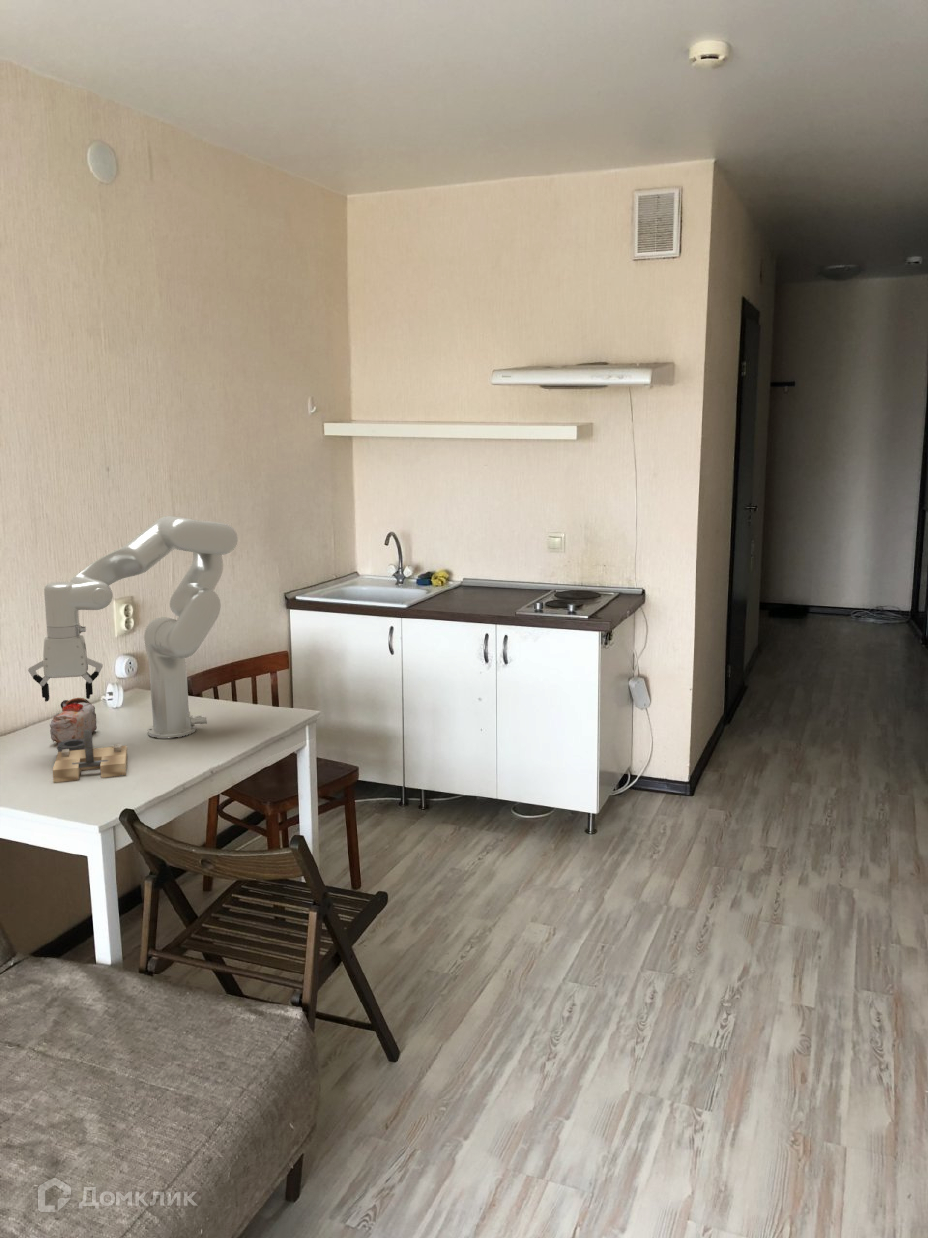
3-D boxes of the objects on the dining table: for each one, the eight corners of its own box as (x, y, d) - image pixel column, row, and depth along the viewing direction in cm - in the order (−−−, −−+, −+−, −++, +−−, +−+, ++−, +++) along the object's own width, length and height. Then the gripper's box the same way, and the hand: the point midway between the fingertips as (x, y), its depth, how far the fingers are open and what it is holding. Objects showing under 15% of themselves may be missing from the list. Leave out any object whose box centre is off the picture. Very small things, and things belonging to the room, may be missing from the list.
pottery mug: (106, 721, 281) (99, 701, 275) (82, 743, 275) (75, 723, 269) (75, 706, 285) (68, 686, 280) (50, 727, 279) (42, 707, 273)
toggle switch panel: (127, 756, 249) (124, 714, 247) (125, 775, 236) (122, 731, 233) (59, 763, 244) (55, 720, 242) (53, 782, 231) (49, 737, 229)
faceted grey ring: (90, 748, 255) (89, 737, 255) (88, 757, 248) (87, 746, 248) (60, 751, 253) (59, 740, 252) (57, 760, 246) (56, 749, 246)
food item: (79, 747, 257) (76, 710, 255) (49, 747, 257) (45, 710, 255) (100, 731, 270) (97, 696, 268) (71, 731, 270) (68, 696, 269)
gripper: (101, 627, 250) (105, 692, 254) (27, 630, 246) (32, 697, 249) (99, 633, 243) (103, 700, 247) (23, 636, 238) (28, 705, 242)
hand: (67, 698), depth 248 cm, fingers open, 9 cm apart
